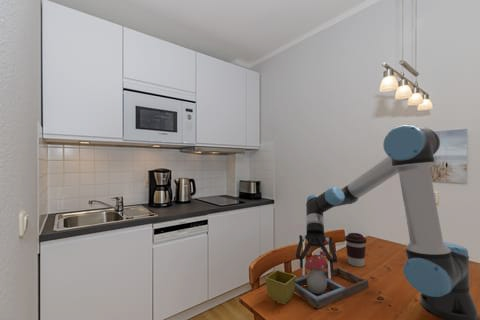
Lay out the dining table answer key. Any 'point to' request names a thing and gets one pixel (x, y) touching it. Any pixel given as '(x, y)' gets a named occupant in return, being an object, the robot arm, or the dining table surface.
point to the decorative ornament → (316, 273)
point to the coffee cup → (355, 249)
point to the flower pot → (280, 286)
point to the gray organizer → (350, 290)
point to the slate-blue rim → (323, 294)
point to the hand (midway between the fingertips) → (316, 277)
